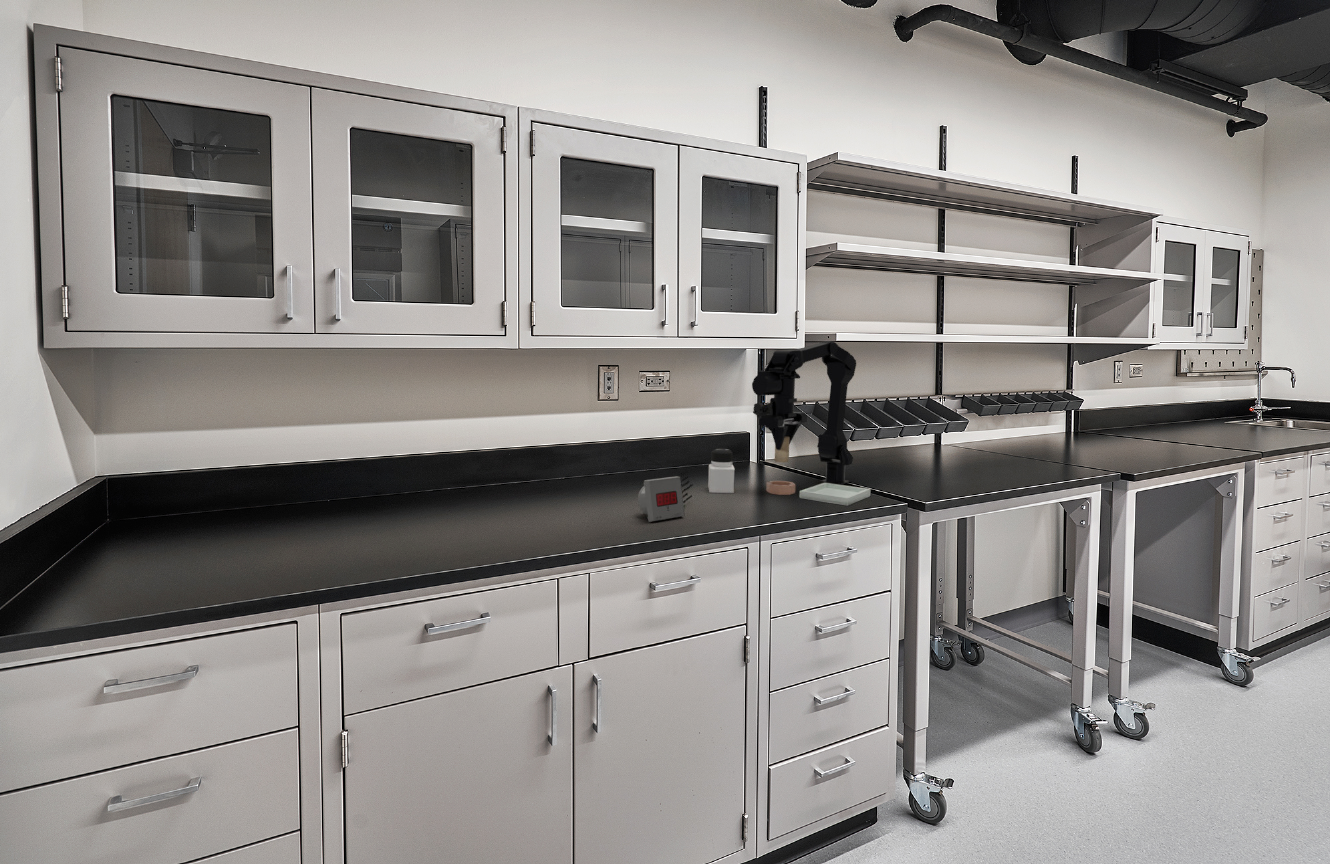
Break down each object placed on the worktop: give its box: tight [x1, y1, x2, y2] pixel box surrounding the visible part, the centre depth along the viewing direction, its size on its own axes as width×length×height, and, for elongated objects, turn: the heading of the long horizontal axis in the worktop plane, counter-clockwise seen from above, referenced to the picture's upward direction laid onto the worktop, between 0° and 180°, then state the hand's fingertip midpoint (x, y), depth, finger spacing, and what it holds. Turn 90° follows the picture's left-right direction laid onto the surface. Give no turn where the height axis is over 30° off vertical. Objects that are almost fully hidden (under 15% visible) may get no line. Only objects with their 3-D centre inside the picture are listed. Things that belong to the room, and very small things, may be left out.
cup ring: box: [765, 480, 796, 496], centre depth 202 cm, size 8×8×2 cm
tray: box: [799, 482, 871, 507], centre depth 196 cm, size 16×14×2 cm
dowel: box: [774, 436, 790, 463], centre depth 200 cm, size 4×4×7 cm
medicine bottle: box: [707, 448, 736, 494], centre depth 202 cm, size 7×7×12 cm
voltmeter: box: [637, 466, 695, 523], centre depth 176 cm, size 27×11×10 cm, turn 163°
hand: (782, 448), depth 200 cm, fingers closed on dowel, 4 cm apart
